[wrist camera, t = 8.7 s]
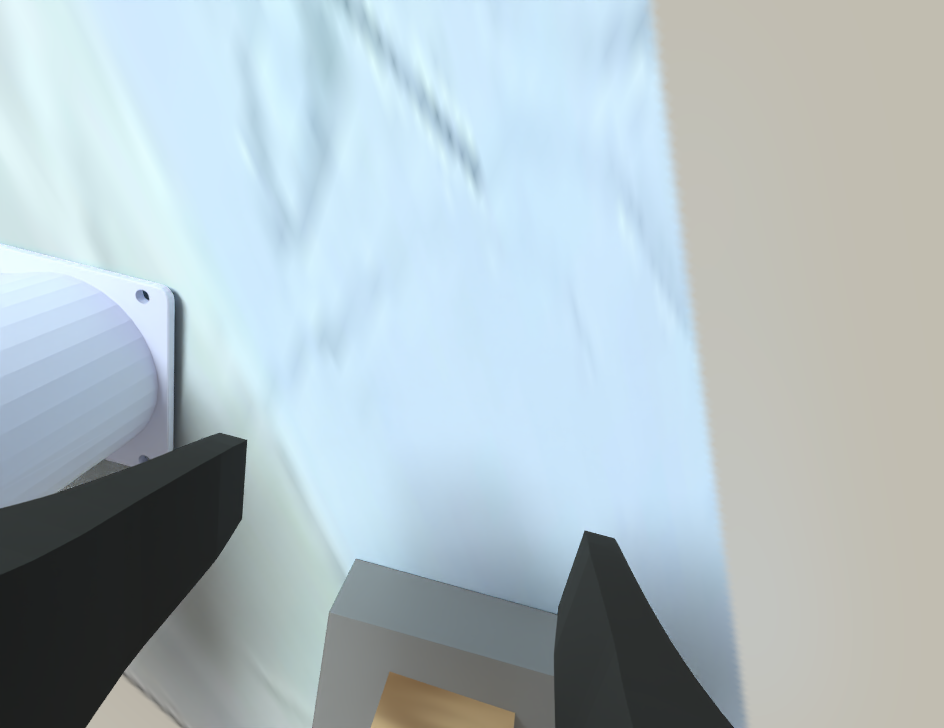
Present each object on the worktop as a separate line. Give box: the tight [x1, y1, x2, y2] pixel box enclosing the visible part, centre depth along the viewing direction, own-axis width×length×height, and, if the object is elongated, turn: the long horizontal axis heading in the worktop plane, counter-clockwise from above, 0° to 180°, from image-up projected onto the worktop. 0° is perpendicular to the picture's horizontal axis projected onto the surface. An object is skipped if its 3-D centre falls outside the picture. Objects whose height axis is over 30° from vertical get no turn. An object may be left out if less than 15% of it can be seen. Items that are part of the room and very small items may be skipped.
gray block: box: [312, 559, 558, 728], centre depth 25 cm, size 10×10×3 cm
